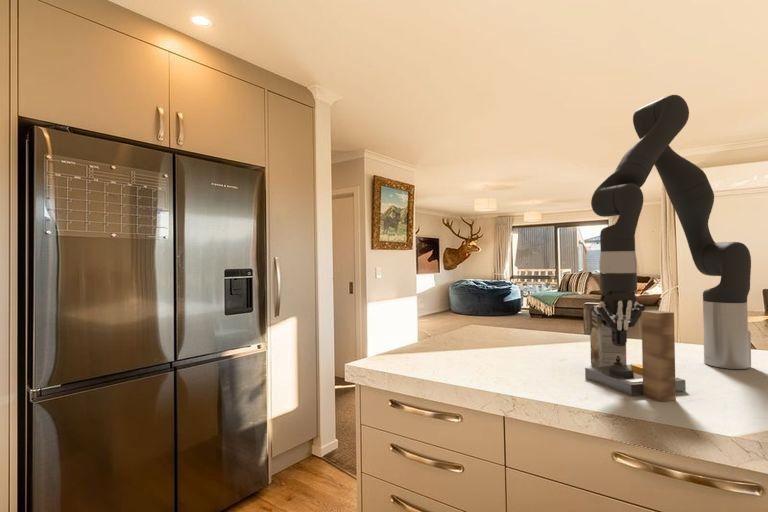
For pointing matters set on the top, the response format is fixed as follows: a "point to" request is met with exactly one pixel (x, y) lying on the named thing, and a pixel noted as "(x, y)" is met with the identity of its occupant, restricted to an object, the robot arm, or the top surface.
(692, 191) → the robot arm
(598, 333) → the coffee box
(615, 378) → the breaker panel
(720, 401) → the top surface
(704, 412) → the top surface
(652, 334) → the walnut post
